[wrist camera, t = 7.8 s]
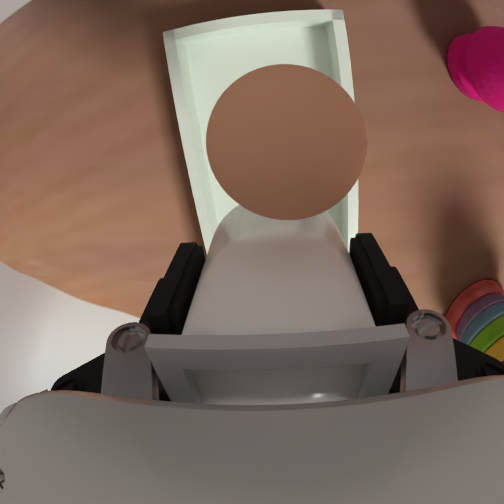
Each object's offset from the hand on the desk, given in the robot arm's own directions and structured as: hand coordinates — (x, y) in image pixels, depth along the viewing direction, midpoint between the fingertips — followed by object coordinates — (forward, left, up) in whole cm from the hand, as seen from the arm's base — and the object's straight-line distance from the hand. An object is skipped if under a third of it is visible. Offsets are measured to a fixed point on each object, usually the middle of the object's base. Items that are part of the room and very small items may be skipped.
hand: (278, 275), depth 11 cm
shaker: (0, 0, -1) cm, 1 cm away
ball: (-1, -5, +3) cm, 6 cm away
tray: (0, -1, -15) cm, 15 cm away
